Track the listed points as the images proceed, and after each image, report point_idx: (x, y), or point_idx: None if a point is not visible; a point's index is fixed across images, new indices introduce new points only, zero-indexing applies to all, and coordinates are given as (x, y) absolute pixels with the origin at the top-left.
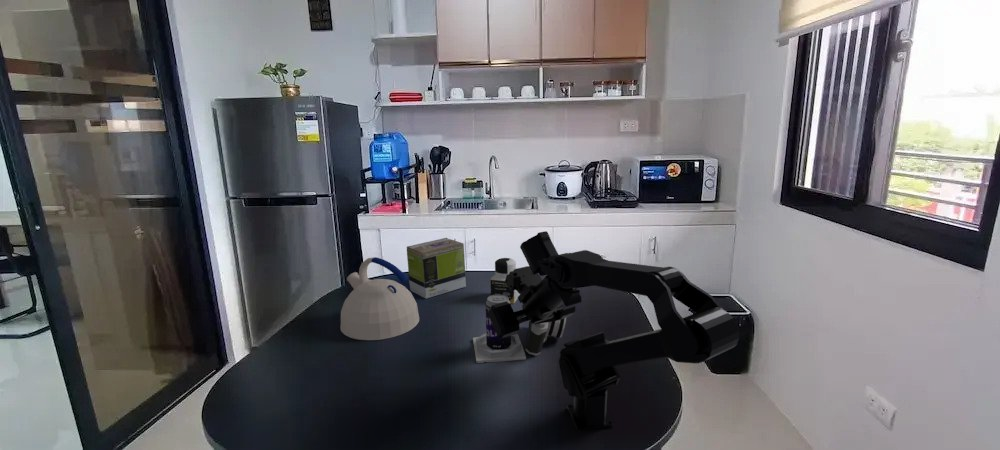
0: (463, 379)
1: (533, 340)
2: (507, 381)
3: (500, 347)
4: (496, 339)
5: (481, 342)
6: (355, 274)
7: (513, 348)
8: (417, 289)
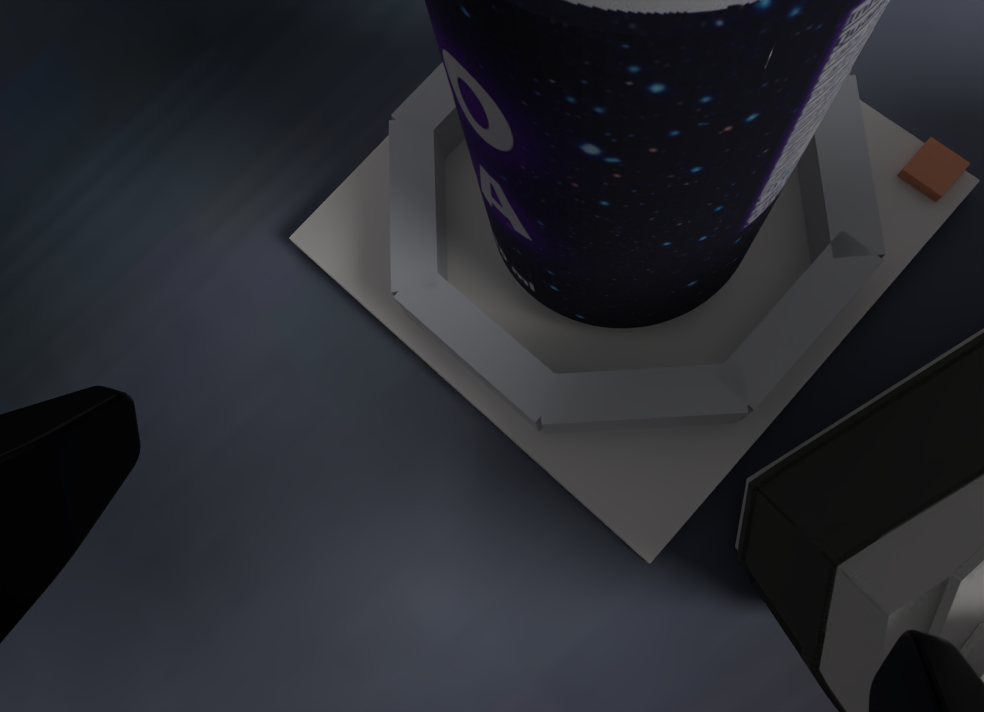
0: (46, 341)
1: (785, 619)
2: (220, 668)
3: (532, 290)
4: (497, 223)
5: None
6: None
7: (609, 412)
8: None
